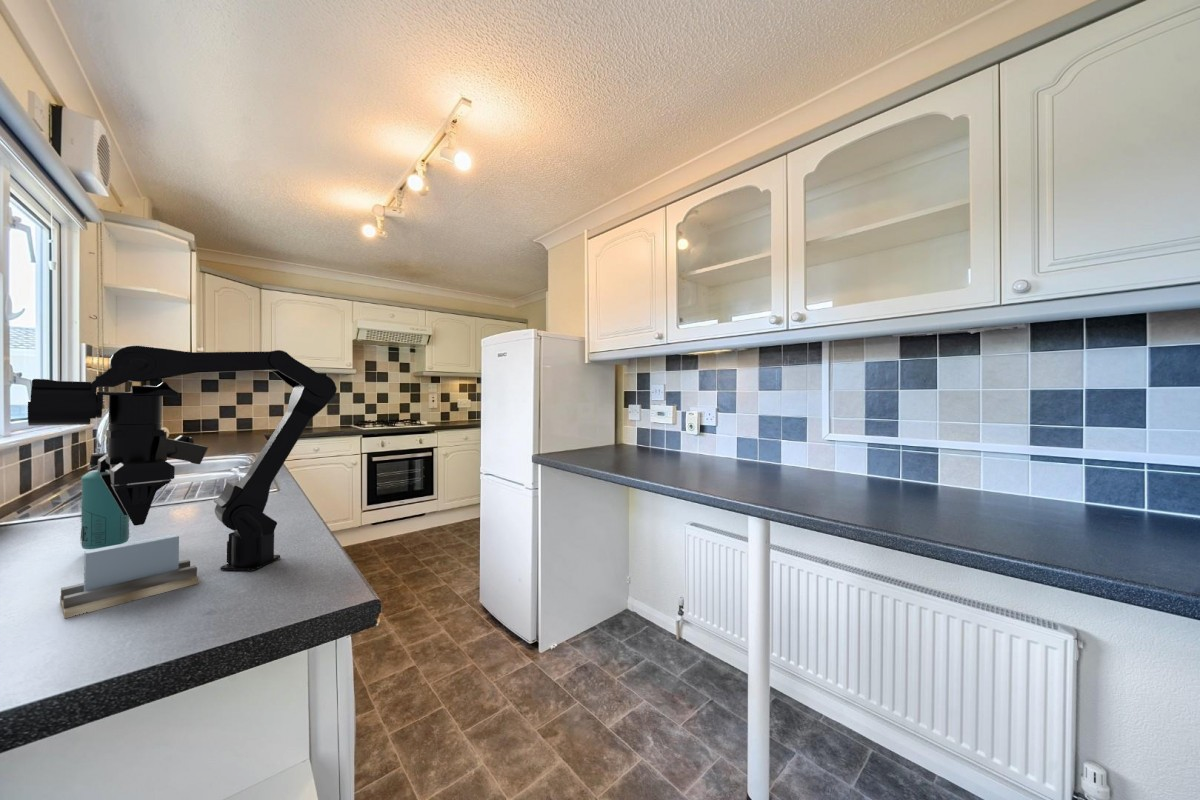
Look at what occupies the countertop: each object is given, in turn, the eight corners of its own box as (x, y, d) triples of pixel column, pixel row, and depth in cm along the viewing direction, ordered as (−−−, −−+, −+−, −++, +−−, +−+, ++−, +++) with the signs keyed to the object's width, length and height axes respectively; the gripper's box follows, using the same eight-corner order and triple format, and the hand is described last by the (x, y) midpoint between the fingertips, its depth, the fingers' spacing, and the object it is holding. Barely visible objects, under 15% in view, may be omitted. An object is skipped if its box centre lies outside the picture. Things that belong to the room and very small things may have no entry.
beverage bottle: (139, 546, 86) (140, 451, 86) (97, 558, 80) (99, 455, 80) (112, 544, 87) (113, 450, 87) (68, 556, 80) (70, 454, 80)
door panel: (175, 573, 72) (176, 533, 72) (178, 576, 70) (179, 536, 70) (83, 595, 63) (84, 550, 63) (85, 599, 62) (85, 553, 62)
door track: (186, 571, 75) (186, 557, 75) (198, 583, 70) (198, 568, 70) (60, 601, 63) (60, 585, 63) (64, 618, 59) (64, 601, 59)
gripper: (218, 424, 68) (216, 518, 68) (189, 419, 79) (187, 501, 79) (115, 427, 59) (113, 536, 59) (98, 421, 69) (96, 513, 69)
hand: (133, 519), depth 67 cm, fingers open, 9 cm apart
